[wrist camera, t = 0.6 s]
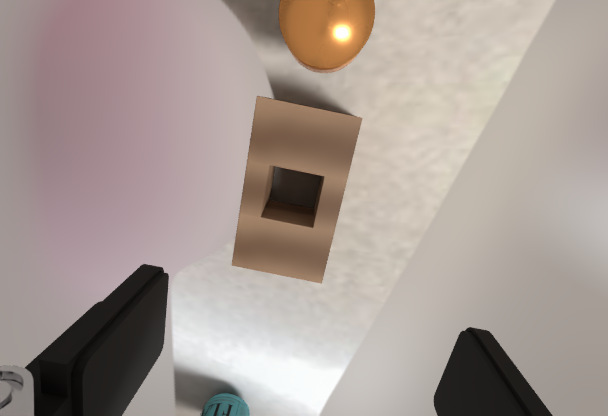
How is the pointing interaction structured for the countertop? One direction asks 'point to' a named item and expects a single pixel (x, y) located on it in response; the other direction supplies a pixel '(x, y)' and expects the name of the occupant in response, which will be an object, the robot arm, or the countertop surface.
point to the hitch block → (286, 217)
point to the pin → (326, 31)
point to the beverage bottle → (225, 406)
